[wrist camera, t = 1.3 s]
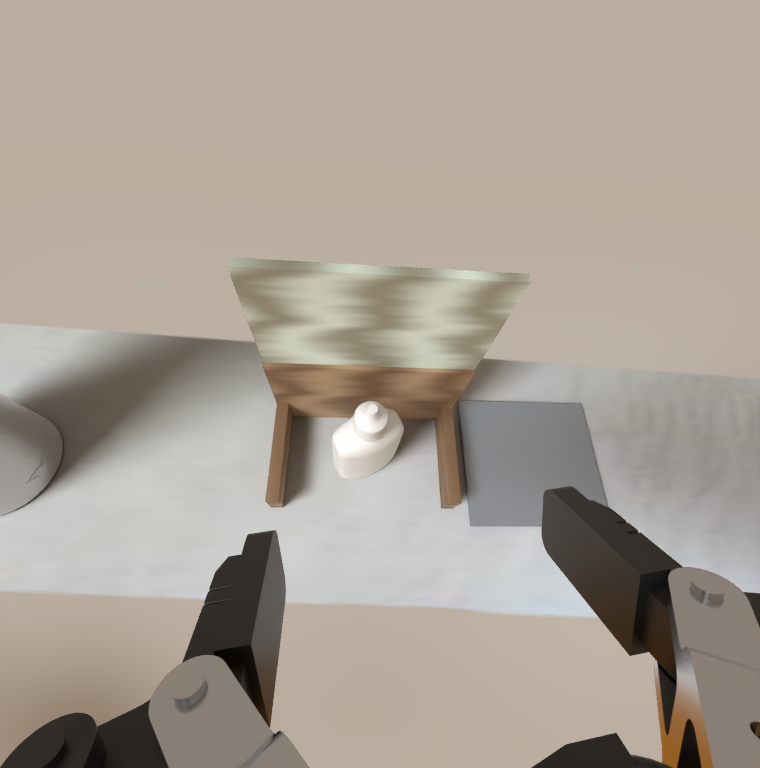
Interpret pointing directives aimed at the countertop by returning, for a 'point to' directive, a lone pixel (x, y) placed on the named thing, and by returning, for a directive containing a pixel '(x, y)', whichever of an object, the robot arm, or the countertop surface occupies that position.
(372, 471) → the eye dropper bottle
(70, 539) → the countertop surface
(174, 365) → the countertop surface
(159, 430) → the countertop surface
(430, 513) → the countertop surface
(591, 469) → the slate mat
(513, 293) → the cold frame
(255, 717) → the robot arm
